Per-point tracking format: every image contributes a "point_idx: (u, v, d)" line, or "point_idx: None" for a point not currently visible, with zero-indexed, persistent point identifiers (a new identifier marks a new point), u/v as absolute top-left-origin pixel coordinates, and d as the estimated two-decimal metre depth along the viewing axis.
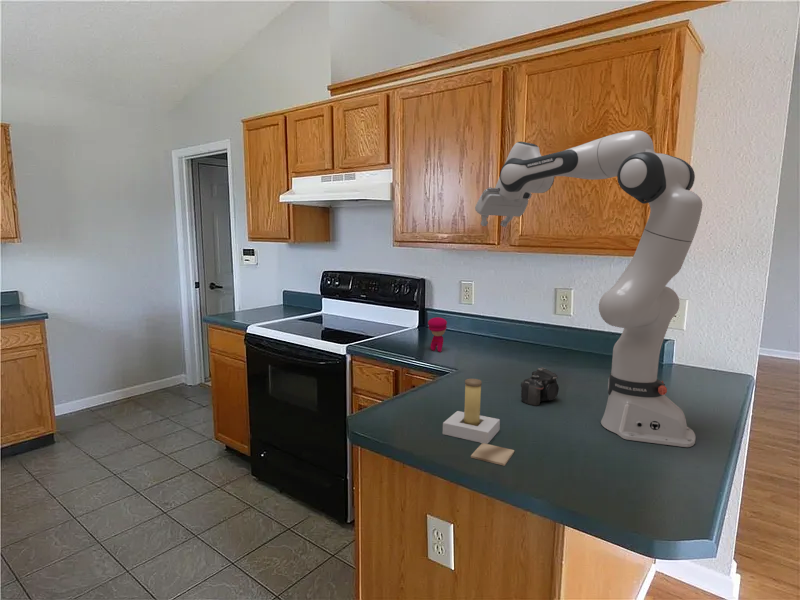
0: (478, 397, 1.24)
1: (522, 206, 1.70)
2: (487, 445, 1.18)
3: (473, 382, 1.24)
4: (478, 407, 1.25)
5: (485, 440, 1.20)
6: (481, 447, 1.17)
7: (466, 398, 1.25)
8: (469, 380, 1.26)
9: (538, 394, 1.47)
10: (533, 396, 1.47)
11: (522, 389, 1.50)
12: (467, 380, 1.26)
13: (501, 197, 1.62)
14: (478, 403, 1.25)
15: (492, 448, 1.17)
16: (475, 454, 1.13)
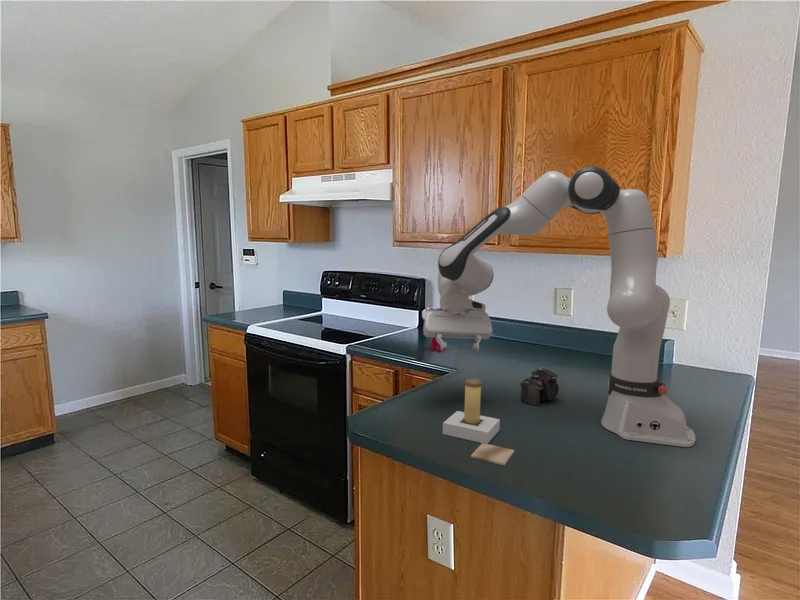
0: (478, 397, 1.24)
1: (484, 321, 1.44)
2: (487, 445, 1.18)
3: (473, 382, 1.24)
4: (478, 407, 1.25)
5: (485, 440, 1.20)
6: (481, 447, 1.17)
7: (466, 398, 1.25)
8: (469, 380, 1.26)
9: (538, 394, 1.47)
10: (533, 395, 1.48)
11: (522, 389, 1.50)
12: (467, 380, 1.26)
13: (445, 312, 1.44)
14: (478, 403, 1.25)
15: (492, 448, 1.17)
16: (475, 454, 1.13)
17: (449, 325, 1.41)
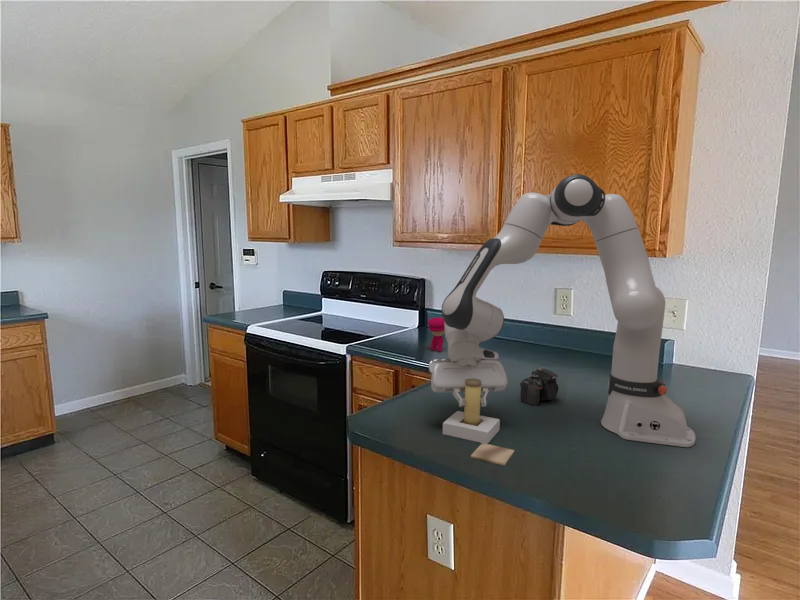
0: (478, 397, 1.24)
1: (497, 372, 1.30)
2: (487, 445, 1.18)
3: (473, 382, 1.24)
4: (478, 407, 1.25)
5: (485, 440, 1.20)
6: (481, 447, 1.17)
7: (466, 398, 1.25)
8: (469, 380, 1.26)
9: (537, 394, 1.47)
10: (532, 395, 1.48)
11: (521, 389, 1.51)
12: (467, 380, 1.26)
13: (454, 363, 1.31)
14: (478, 403, 1.25)
15: (492, 448, 1.17)
16: (475, 454, 1.13)
17: (459, 378, 1.28)
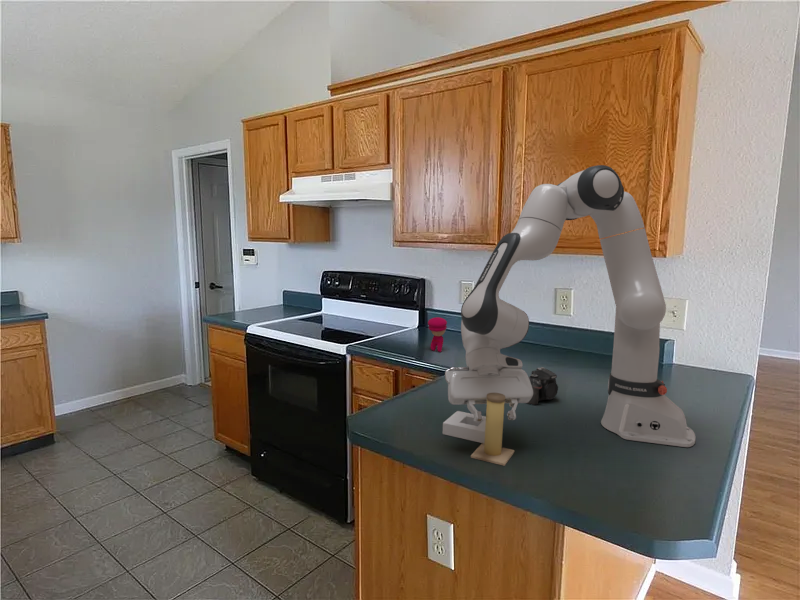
0: (501, 414, 1.12)
1: (522, 381, 1.17)
2: None
3: (496, 397, 1.11)
4: (501, 425, 1.12)
5: None
6: (481, 447, 1.17)
7: (487, 415, 1.12)
8: (491, 395, 1.13)
9: (536, 393, 1.48)
10: None
11: None
12: (489, 395, 1.13)
13: (474, 372, 1.18)
14: (501, 421, 1.12)
15: None
16: (475, 454, 1.13)
17: (480, 389, 1.15)
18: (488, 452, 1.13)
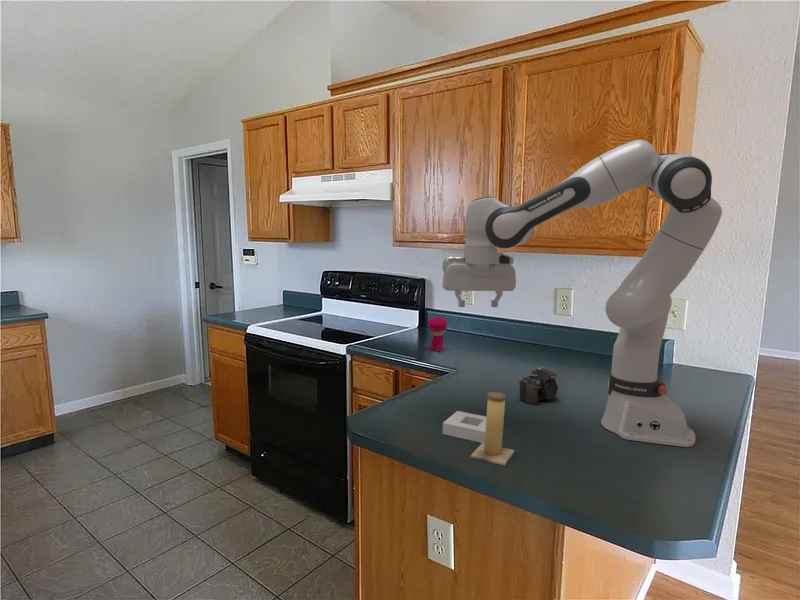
0: (501, 413, 1.12)
1: (508, 276, 1.34)
2: None
3: (496, 396, 1.12)
4: (501, 424, 1.12)
5: None
6: (481, 447, 1.17)
7: (488, 413, 1.13)
8: (492, 393, 1.14)
9: (536, 393, 1.48)
10: (531, 394, 1.48)
11: (520, 388, 1.52)
12: (490, 393, 1.14)
13: (468, 266, 1.33)
14: (501, 420, 1.12)
15: None
16: (475, 454, 1.13)
17: (470, 282, 1.33)
18: (488, 451, 1.13)
